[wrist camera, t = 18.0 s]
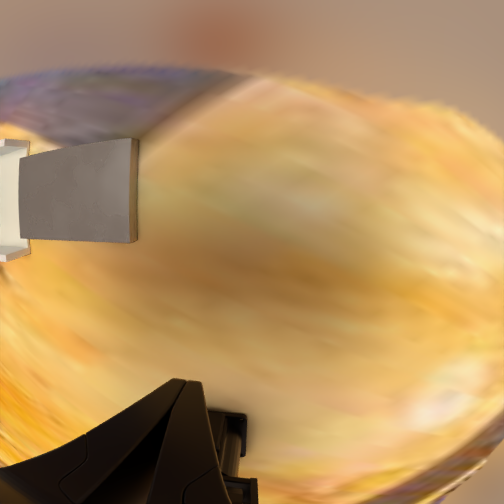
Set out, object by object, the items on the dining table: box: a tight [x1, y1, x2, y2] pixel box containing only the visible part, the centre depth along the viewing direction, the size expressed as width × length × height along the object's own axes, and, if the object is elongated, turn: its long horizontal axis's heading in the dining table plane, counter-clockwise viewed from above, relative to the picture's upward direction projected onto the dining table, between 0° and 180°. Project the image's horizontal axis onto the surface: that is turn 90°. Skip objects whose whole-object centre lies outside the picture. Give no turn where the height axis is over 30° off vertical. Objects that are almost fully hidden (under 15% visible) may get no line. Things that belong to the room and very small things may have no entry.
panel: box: [18, 138, 139, 243], centre depth 18 cm, size 7×12×1 cm, turn 88°
